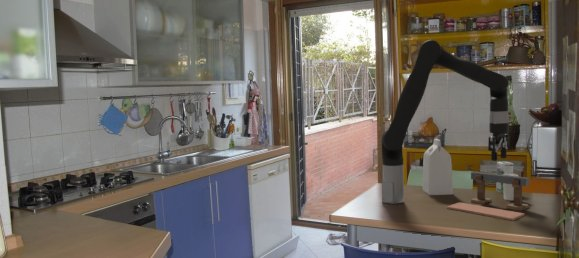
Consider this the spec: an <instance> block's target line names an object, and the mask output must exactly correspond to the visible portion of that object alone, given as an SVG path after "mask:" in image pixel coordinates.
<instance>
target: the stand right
mask: <svg viewBox="0 0 579 258" xmlns="http://www.w3.org/2000/svg"><path fill="white" fill-rule="evenodd" d="M512 187H514V200H513V202H511V203H510V204H507V205H506V209H511V210H515V211H520V212H521V211H524V210H526V209H528V208H530V205H529V203H528V204H527V203H523V186H521V185H519V180H514V179H513V180H512Z"/></svg>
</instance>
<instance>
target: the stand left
mask: <svg viewBox="0 0 579 258" xmlns="http://www.w3.org/2000/svg"><path fill="white" fill-rule="evenodd" d="M475 183H477V184H476V185H477V186H476V189H477V191H476V195H477V196H476V197H474V198H471V199H470V203H475V204H479V205H480V204H481V205H486V204H488V202H489V203H491V202H492V200H493V199H492V198H488V197H486V181H482V176H481V175H476V180H475Z"/></svg>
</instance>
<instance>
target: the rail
mask: <svg viewBox="0 0 579 258" xmlns="http://www.w3.org/2000/svg"><path fill="white" fill-rule="evenodd" d="M476 175H481V176H482V181H485V182H492V183H496V182H498V183H505V184H512V180H513V179H514V180H519V185H521V186H522V187H528V186H530V177H524V176H519V175H518V176H509V175H500V174H497V173H493V172H492V173H489V172H482V171H471V172H470V180H475V181H476Z"/></svg>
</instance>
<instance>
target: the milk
mask: <svg viewBox="0 0 579 258" xmlns="http://www.w3.org/2000/svg"><path fill="white" fill-rule="evenodd" d="M432 143H433V144H432V145H431V146H429V147H428V149H427V150H425V152H424V153H423V163H422V164H423V165H422V191H423V192H425V194H427V195H428V196H439V195H441V196H444V195H445V196H446V195H454V184H453V183H454V181H453V165H452V156H451V154H450V153H449V152H448V151H447V150H446V149H445V148H444V147H443V146H442V143H441V139H439V138H433V142H432Z"/></svg>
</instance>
